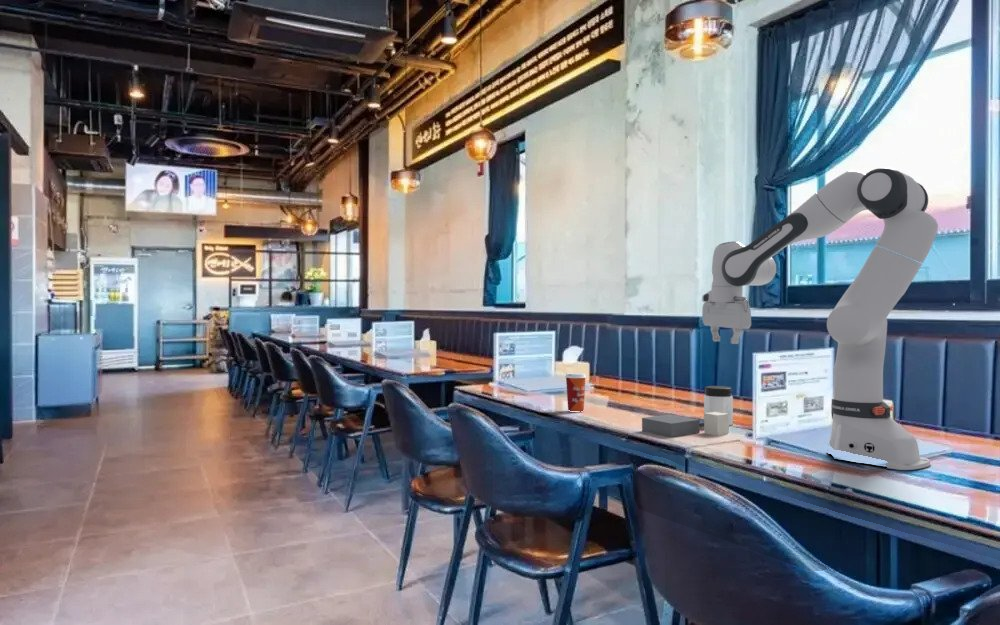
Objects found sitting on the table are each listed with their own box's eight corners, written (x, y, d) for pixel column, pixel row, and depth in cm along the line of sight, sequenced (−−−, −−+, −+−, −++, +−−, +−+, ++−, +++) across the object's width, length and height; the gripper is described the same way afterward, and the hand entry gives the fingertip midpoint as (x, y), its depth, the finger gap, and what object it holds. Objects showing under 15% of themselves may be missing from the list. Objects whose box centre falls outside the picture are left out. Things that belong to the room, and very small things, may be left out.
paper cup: (576, 413, 234) (576, 374, 234) (561, 411, 240) (560, 373, 239) (591, 411, 239) (590, 373, 239) (575, 409, 245) (575, 371, 245)
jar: (719, 427, 206) (719, 389, 206) (699, 423, 213) (699, 386, 213) (737, 424, 211) (737, 387, 211) (716, 421, 218) (716, 385, 218)
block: (728, 433, 196) (728, 413, 196) (717, 435, 193) (717, 415, 193) (715, 431, 200) (715, 411, 200) (704, 433, 197) (704, 413, 197)
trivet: (699, 432, 197) (699, 419, 197) (671, 437, 191) (671, 423, 190) (669, 426, 207) (669, 414, 207) (642, 430, 201) (642, 417, 201)
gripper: (757, 297, 186) (756, 345, 186) (716, 296, 206) (715, 340, 206) (738, 296, 184) (736, 345, 185) (699, 296, 204) (697, 340, 205)
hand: (725, 342), depth 196 cm, fingers open, 8 cm apart
